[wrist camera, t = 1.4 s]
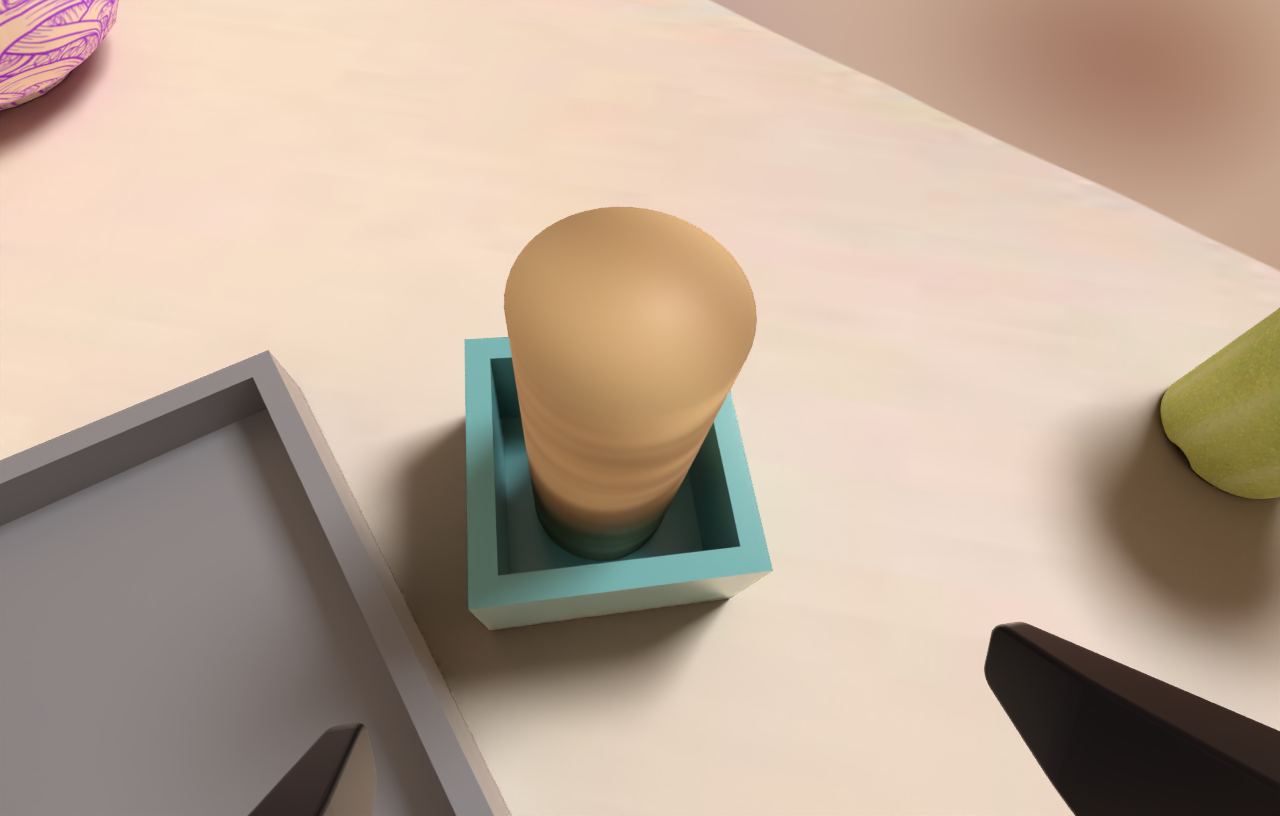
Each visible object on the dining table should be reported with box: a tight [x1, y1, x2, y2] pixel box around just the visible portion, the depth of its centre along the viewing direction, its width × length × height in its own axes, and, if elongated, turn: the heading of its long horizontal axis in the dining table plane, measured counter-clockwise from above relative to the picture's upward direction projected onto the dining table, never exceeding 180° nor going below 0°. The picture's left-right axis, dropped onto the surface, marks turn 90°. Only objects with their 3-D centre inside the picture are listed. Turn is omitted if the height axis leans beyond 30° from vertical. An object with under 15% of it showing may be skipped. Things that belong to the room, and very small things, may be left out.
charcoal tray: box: [0, 350, 511, 816], centre depth 17 cm, size 20×14×3 cm
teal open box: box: [465, 337, 773, 631], centre depth 21 cm, size 9×9×5 cm
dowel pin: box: [504, 207, 757, 560], centre depth 17 cm, size 5×5×12 cm
